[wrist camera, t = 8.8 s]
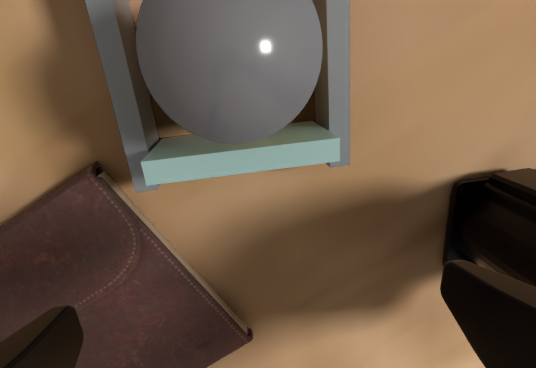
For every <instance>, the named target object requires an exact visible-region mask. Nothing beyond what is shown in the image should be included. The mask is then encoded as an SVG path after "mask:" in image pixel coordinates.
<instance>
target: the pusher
mask: <svg viewBox="0 0 536 368" xmlns="http://www.w3.org/2000/svg"><path fill="white" fill-rule="evenodd" d="M337 161H340V138H339V137H338V136H336V135H334V134H333V133H331V132H329V131H328V130H326V129H325V128H323V127H321V126H320V125H318V124H317V123H315V122H313V121H305V122H297V123H289V124H288V125H286V126H285V127H284V128H282V129H281V130H279V131H278V132H276V133H274V134H272V135H270V136H268V137H266V138H263V139H260V140H257V141H253V142H248V143H239V144H228V143H219V142H214V141H210V140H207V139H204V138H201V137H199V136H197V135H195V134H193V135H184V136H175V137H167V138H162V139H161V140H160V142H159V143H158V144H157V145H156V146H155V147H154V148H153V149H152V150H151V151H150V152H149V153H148V154H147V156H146V157H145V158H144V159H143V160H142V161H141V166H142V170H143V174H144V178H145V182H146V186H148V185H156V184H164V183H172V182H180V181H188V180H196V179H203V178H211V177H219V176H227V175H235V174H243V173H251V172H259V171H266V170H274V169H282V168H290V167H298V166H306V165H314V164H321V163H329V162H337Z"/></svg>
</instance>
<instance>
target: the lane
mask: <svg viewBox="0 0 536 368" xmlns="http://www.w3.org/2000/svg"><path fill="white" fill-rule="evenodd" d="M85 2H86V6H87V10H88V14H89V18H90V21H91V25H92V29H93V33H94V37H95V40H96V44H97V48H98V52H99V56H100V59H101V63H102V67H103V71H104V74H105V78H106V82H107V86H108V90H109V93H110V97H111V101H112V105H113V109H114V112H115V116H116V120H117V124H118V128H119V131H120V135H121V139H122V143H123V146H124V150H125V154H126V158H127V162H128V165H129V169H130V173H131V177H132V181H133V184H134V188H135V192H144V191H151V190H157V189H158V187H159V186H160V184H156V185H148V186H146V182H145V178H144V174H143V170H142V166H141V161H142V160H143V159H144V158H145V157H146V156H147V154H148V153H149V152H150V151H151V150H152V149H153V148H154V147H155V146H156V145H157V144H158V143H159V142H160V141H159V137H158V132H157V128H156V123H155V119H154V114H153V110H152V105H151V101H150V96H149V92H148V87H147V85H146V83H145V80H144V78H143V76H142V72H141V69H140V65H139V62H138V56H137V49H136V33H135V28H134V24H133V19H132V14H131V10H130V5H129V1H128V0H85ZM312 2H313V4H314V6H315V9H316V12H317V15H318V18H319V22H320V26H321V31H322V42H323V51H322V63H321V69H320V73H319V77H318V81H317V83H316V86H315V88H314V91H315V117H316V123H317V124H318V125H320V126H321V127H323V128H325V129H326V130H328V131H329V132H331V133H333V134H334V135H336V136H338V137H339V138H340V161H337V162H329V163H326V164H327V165H328V166H329V167H338V166H346V165H350V0H312Z"/></svg>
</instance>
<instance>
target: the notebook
mask: <svg viewBox="0 0 536 368" xmlns="http://www.w3.org/2000/svg"><path fill="white" fill-rule="evenodd" d="M101 166H102V165H101V164H100V163H99V162H95V163H93V164H92V165H90V166H89V167H87V168H86V169H84V170H83V171H81V172H80V173H79V174H77V175H76V176H74V177H73V178H71V179H70V180H68V181H67V182H66V183H64V184H63V185H61V186H60V187H58V188H57V189H55V190H54V191H53V192H51V193H50V194H48V195H47V196H45V197H44V198H42V199H41V200H39V201H38V202H37V203H35V204H34V205H32V206H31V207H29V208H28V209H26V210H25V211H24V212H22V213H21V214H19V215H18V216H16V217H15V218H13V219H12V220H11V221H9V222H8V223H6V224H5V225H3V226H2V227H0V342H1V341H2V340H4V339H5V338H7V337H8V336H10V335H11V334H13V333H14V332H16V331H17V330H19V329H20V328H22V327H23V326H25V325H26V324H28V323H29V322H31V321H32V320H34V319H35V318H37V317H38V316H40V315H41V314H43V313H44V312H46V311H47V310H49V309H51V308H53V307H58V306H67V305H71V306H73V307H74V308H75V310H76V312H77V315H78V318H79V321H80V324H81V327H82V330H83V335H84V339H83V344H82V348H81V351H80V354H79V357H78V360H77V363H76V366H75V368H206V367H208V366H210V365H211V364H213V363H215V362H216V361H218V360H220V359H221V358H223V357H225V356H226V355H228V354H230V353H232V352H233V351H235V350H237V349H238V348H240V347H242V346H243V345H245V344H247V343H249V342H250V341H252V339H253V332H252V330H251V329H248V327H247V326H246V325H245V324H244V323H243V322H242V321H241V320H240V318H239V317H238V316H237V315H236V314H235V313H234V312H233V311H232V310H231V309H230V308H229V306H228V305H227V304H226V303H225V302H224V301H223V300H222V299H221V298H220V297H219V295H218V294H217V293H216V292H215V291H214V290H213V289H212V288H211V287H210V286H209V285H208V283H207V282H206V281H205V280H204V279H203V278H202V277H201V276H200V275H199V274H198V272H197V271H196V270H195V269H194V268H193V267H192V266H191V265H190V264H189V263H188V262H187V260H186V259H185V258H184V257H183V256H182V255H181V254H180V253H179V252H178V251H177V250H176V248H175V247H174V246H173V245H172V244H171V243H170V242H169V241H168V240H167V239H166V237H165V236H164V235H163V234H162V233H161V232H160V231H159V230H158V229H157V228H156V227H155V225H154V224H153V223H152V222H151V221H150V220H149V219H148V218H147V217H146V216H145V214H144V213H143V212H142V211H141V210H140V209H139V208H138V207H137V206H136V205H135V204H134V202H133V201H132V200H131V199H130V198H129V197H128V196H127V195H126V194H125V193H124V192H123V190H122V189H121V188H120V187H119V186H118V185H117V184H116V183H115V182H114V181H113V179H112V178H111V177H110V176H109V175H108V174H107V173H106V172H105V171H103V172H101V173H100V174H98V175H97V176H96V174H95V170H96V169H98V168H99V167H101Z"/></svg>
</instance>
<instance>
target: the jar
mask: <svg viewBox="0 0 536 368" xmlns="http://www.w3.org/2000/svg"><path fill="white" fill-rule="evenodd" d="M136 49H137V56H138V62H139V65H140V69H141V72H142V76H143V78H144V80H145V83H146V85H147V87H148V89H149V91H150V93H151V94H152V96H153V98H154V99H155V101H156V102H157V103H158V105H159V106H160V107H161V109H162V110H163V111H164V112H165V113H166V114H167V115H168V116H169V117H170V118H171V119H172V120H173V121H175V122H176V123H177V124H178V125H179V126H181V127H182V128H184V129H185V130H187V131H189V132H190V133H192V134H195V135H197V136H199V137H201V138H204V139H207V140H210V141H214V142H219V143H228V144H239V143H248V142H253V141H257V140H260V139H263V138H266V137H268V136H270V135H272V134H274V133H276V132H278V131H279V130H281V129H282V128H284V127H285V126H286V125H288V124H289V123H290V122H291V121H292V120H293V119H294V118H295V117H296V116H297V115H298V114H299V113H300V112H301V110H302V109H303V108H304V106H305V105H306V104H307V102H308V100H309V98H310V97H311V95H312V93H313V91H314V88H315V86H316V83H317V81H318V77H319V73H320V69H321V63H322V51H323V42H322V31H321V26H320V22H319V18H318V15H317V12H316V9H315V6H314V4H313V2H312V0H143V2H142V4H141V7H140V11H139V16H138V20H137V29H136Z"/></svg>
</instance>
